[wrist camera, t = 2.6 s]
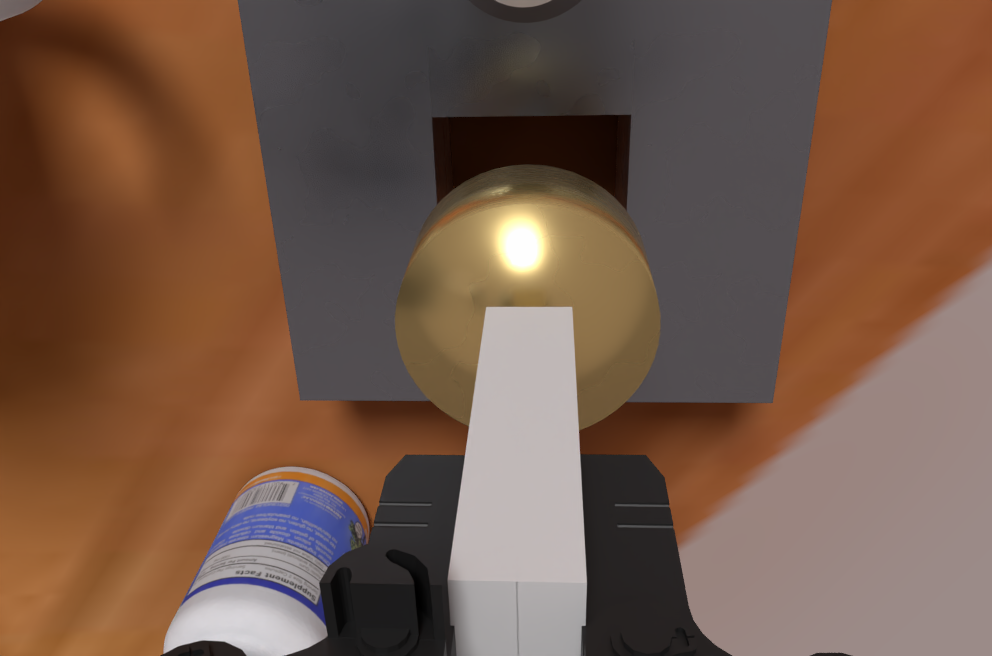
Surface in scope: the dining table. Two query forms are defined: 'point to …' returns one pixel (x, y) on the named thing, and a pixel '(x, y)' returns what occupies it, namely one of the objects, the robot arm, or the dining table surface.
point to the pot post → (524, 9)
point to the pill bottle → (271, 564)
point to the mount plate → (538, 92)
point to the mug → (15, 7)
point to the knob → (528, 284)
